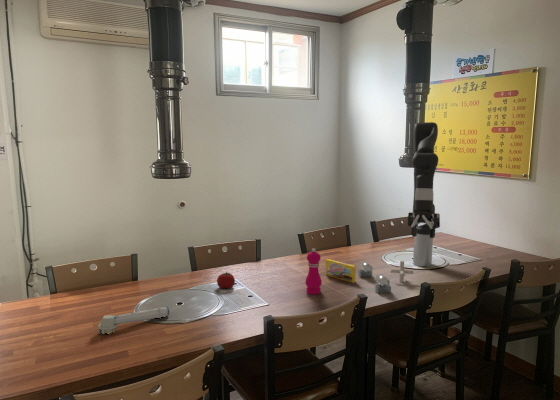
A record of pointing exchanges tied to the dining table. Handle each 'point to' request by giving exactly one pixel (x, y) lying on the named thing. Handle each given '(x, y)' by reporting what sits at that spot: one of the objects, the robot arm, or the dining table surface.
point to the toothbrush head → (130, 318)
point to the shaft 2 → (382, 285)
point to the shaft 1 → (365, 270)
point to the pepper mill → (313, 273)
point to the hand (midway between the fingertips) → (422, 237)
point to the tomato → (225, 280)
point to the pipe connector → (401, 271)
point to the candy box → (340, 270)
